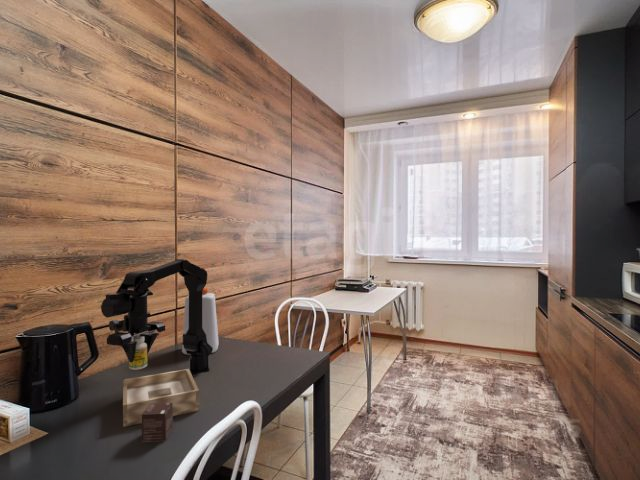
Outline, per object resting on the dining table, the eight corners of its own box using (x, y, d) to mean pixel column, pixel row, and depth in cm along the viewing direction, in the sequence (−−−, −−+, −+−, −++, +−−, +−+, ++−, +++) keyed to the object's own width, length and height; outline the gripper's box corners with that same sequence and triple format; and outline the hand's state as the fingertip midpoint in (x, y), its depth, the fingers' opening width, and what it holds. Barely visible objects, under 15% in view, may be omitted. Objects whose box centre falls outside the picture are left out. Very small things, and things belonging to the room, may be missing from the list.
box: (150, 430, 98) (150, 403, 98) (173, 429, 99) (173, 402, 99) (141, 443, 92) (140, 414, 92) (165, 441, 93) (165, 413, 92)
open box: (188, 385, 127) (188, 368, 127) (199, 410, 109) (199, 390, 109) (123, 398, 117) (123, 379, 117) (123, 427, 100) (123, 405, 99)
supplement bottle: (146, 363, 121) (146, 334, 121) (148, 367, 117) (148, 338, 117) (128, 366, 119) (127, 336, 118) (129, 371, 114) (129, 340, 114)
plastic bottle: (180, 356, 157) (179, 291, 157) (186, 346, 172) (185, 286, 172) (216, 354, 160) (216, 290, 160) (219, 344, 175) (218, 285, 175)
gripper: (140, 304, 129) (141, 348, 129) (92, 315, 111) (93, 366, 111) (166, 306, 125) (166, 351, 126) (120, 318, 108) (121, 370, 108)
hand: (138, 359), depth 118 cm, fingers closed on supplement bottle, 5 cm apart
